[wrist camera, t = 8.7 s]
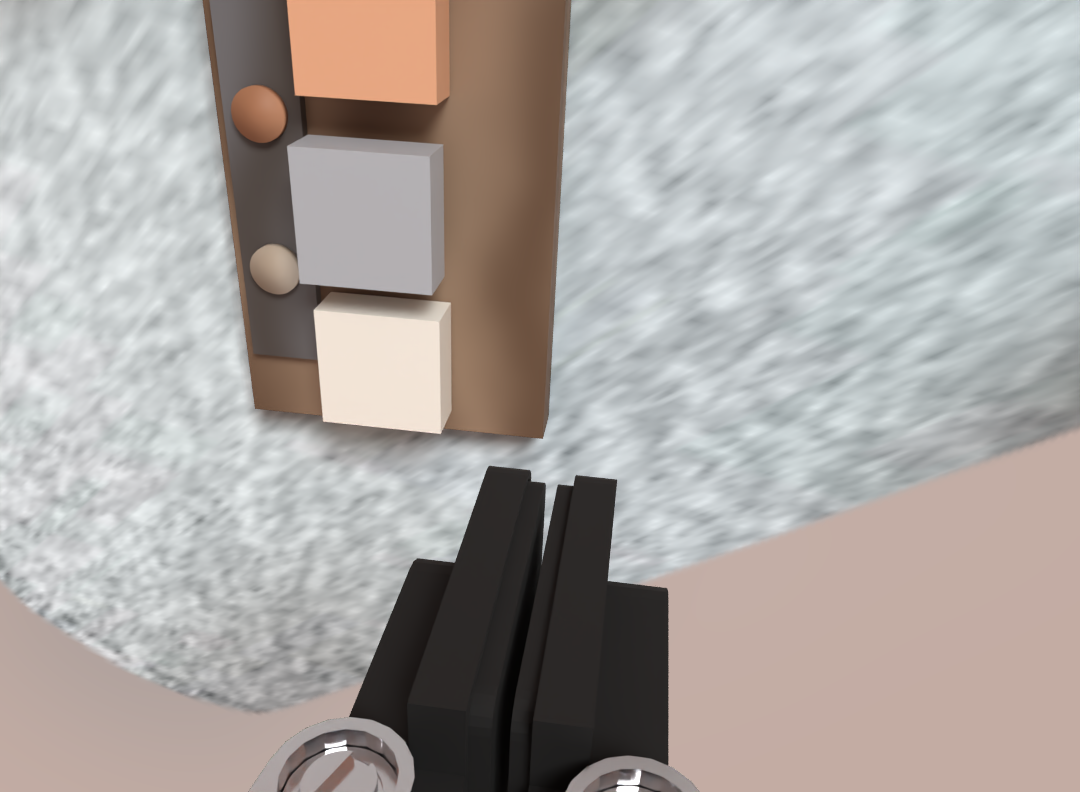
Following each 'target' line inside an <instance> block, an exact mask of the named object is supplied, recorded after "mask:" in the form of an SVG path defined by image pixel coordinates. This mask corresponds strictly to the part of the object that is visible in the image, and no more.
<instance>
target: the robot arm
mask: <svg viewBox="0 0 1080 792" xmlns="http://www.w3.org/2000/svg"><path fill="white" fill-rule="evenodd" d="M616 486H617V480H615V479H606V478H597V477H588V476H578V475H576V476H575V481H574V486H568V485H558V487H557V491H556V496H555V501H554V506H553V511H552V516H551V521H550V526H549V531H548V536H547V541H546V546H545V551H544V556H543V560H542V546H543V528H544V510H545V492H546V485H545V483H540V482H531V471H530V470H523V469H514V468H505V467H495V466H489V467H488V469H487V471H486V474H485V477H484V479H483V482H482V485H481V488H480V491H479V494H478V497H477V500H476V503H475V506H474V509H473V512H472V515H471V517H470V520H469V523H468V526H467V529H466V532H465V535H464V538H463V541H462V544H461V547H460V550H459V552H458V555H457V558H456V561H455V563H452V562H443V561H435V560H427V559H418V558H417V559H416V560H415V561H414V562H413V564H412V566H411V568H410V570H409V572H408V575H407V577H406V579H405V582H404V584H403V587H402V589H401V592H400V594H399V596H398V599H397V601H396V604H395V606H394V609H393V611H392V613H391V616H390V618H389V621H388V623H387V626H386V628H385V631H384V633H383V635H382V638H381V640H380V643H379V645H378V648H377V650H376V652H375V655H374V657H373V660H372V662H371V665H370V667H369V670H368V672H367V674H366V677H365V679H364V682H363V684H362V687H361V689H360V691H359V694H358V697H357V699H356V701H355V704H354V706H353V708H352V711H351V714H350V716H349V717H347V718H339V719H330V720H326V721H323V722H321V723H318V724H315V725H313V726H310V727H307V728H305V729H304V730H302V731H301V732H299V733H297V734H296V735H294V736H293V737H291V738H290V739H289V740H287V741H286V742H285V743H284V744H283V745H282V746H281V747H280V749H279V750H278V751H277V752H276V753H275V754H274V755H273V756H272V757H271V759H270V760H269V762H268V763H267V765H266V766H265V768H264V769H263V771H262V772H261V774H260V775H259V777H258V778H257V780H256V781H255V782H254V784H253V785H252V787H251V788H250V790H249V791H248V792H699V790H698V789H697V788H696V787H695V785H694V784H693V783H692V782H691V781H690V780H689V779H687V778H686V777H685V776H683V775H682V774H681V773H679V772H678V771H677V770H675V769H674V768H672V767H670V766H668V590H667V588H661V587H652V586H644V585H636V584H627V583H619V582H611V581H607V580H608V570H609V559H610V549H611V538H612V528H613V517H614V507H615V496H616ZM541 564H542V565H541Z"/></svg>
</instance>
